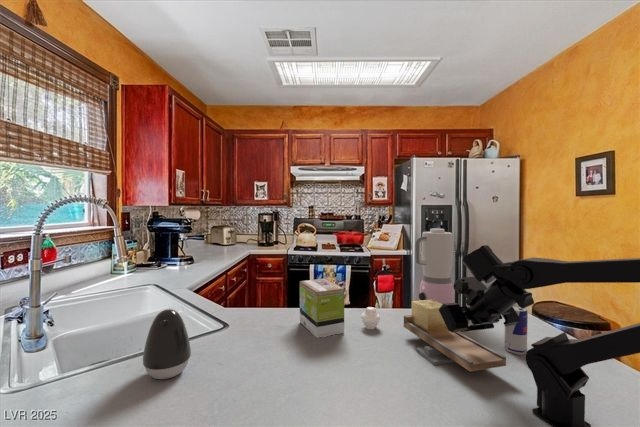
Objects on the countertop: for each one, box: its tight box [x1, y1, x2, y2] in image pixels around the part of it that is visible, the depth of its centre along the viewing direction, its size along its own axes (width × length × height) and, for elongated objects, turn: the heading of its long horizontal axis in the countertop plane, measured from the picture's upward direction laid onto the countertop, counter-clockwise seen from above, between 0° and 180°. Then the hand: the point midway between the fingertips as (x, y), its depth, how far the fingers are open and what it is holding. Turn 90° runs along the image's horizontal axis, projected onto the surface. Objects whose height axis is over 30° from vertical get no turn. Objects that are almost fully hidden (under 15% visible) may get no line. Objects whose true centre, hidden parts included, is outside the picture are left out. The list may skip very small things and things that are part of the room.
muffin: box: [360, 306, 381, 330], centre depth 103 cm, size 6×6×7 cm
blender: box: [414, 228, 455, 304], centre depth 118 cm, size 16×12×32 cm
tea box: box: [299, 278, 345, 339], centre depth 103 cm, size 15×10×15 cm, turn 25°
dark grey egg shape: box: [142, 308, 192, 380], centre depth 74 cm, size 10×10×15 cm
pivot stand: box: [415, 345, 456, 366], centre depth 84 cm, size 8×14×2 cm, turn 106°
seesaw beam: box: [403, 314, 507, 372], centre depth 84 cm, size 28×10×4 cm, turn 16°
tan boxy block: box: [411, 299, 449, 334], centre depth 92 cm, size 8×7×7 cm
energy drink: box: [503, 305, 529, 356], centre depth 87 cm, size 5×5×12 cm
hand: (461, 330), depth 79 cm, fingers closed
